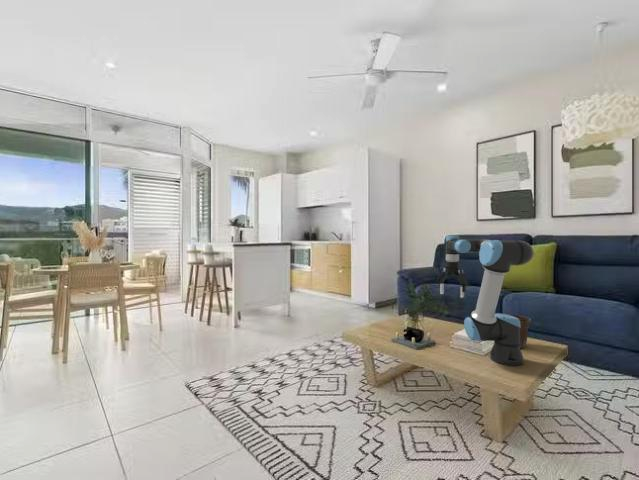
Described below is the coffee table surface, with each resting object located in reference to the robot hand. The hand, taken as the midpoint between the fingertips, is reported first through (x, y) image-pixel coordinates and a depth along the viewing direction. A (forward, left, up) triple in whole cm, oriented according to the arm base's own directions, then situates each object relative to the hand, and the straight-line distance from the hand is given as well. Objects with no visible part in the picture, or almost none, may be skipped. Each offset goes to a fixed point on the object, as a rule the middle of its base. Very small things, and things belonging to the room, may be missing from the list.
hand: (451, 295), depth 203 cm
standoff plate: (+10, +24, -27) cm, 37 cm away
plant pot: (-28, -19, -27) cm, 43 cm away
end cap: (+10, +24, -25) cm, 36 cm away
